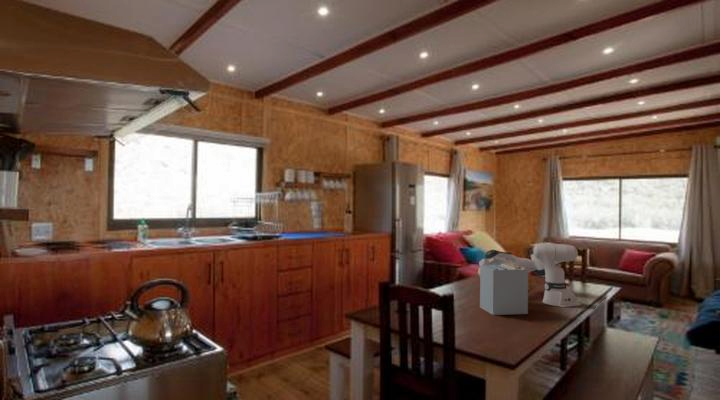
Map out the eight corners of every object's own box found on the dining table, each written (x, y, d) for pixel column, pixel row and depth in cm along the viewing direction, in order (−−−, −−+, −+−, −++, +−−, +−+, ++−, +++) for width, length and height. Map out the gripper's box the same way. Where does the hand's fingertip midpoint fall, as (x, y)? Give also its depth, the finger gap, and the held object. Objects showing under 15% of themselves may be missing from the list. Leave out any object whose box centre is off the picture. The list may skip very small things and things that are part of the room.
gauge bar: (501, 262, 244) (501, 258, 244) (518, 268, 224) (518, 263, 224) (496, 263, 243) (496, 258, 243) (513, 268, 224) (514, 263, 224)
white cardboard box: (512, 306, 236) (513, 263, 236) (527, 313, 220) (528, 268, 221) (479, 307, 233) (480, 264, 233) (492, 315, 217) (493, 268, 217)
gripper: (507, 270, 253) (517, 262, 241) (478, 270, 250) (487, 263, 238) (504, 261, 256) (514, 253, 244) (476, 261, 253) (485, 254, 241)
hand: (501, 258), depth 241 cm, fingers open, 8 cm apart
